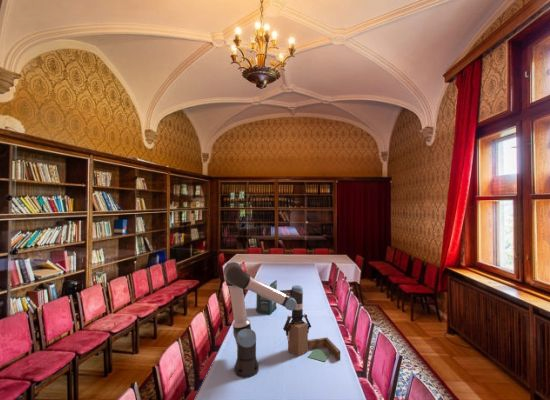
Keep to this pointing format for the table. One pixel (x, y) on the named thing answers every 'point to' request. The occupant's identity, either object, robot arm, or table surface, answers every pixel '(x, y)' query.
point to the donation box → (266, 303)
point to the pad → (319, 355)
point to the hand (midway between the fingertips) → (297, 338)
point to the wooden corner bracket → (324, 343)
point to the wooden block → (298, 338)
